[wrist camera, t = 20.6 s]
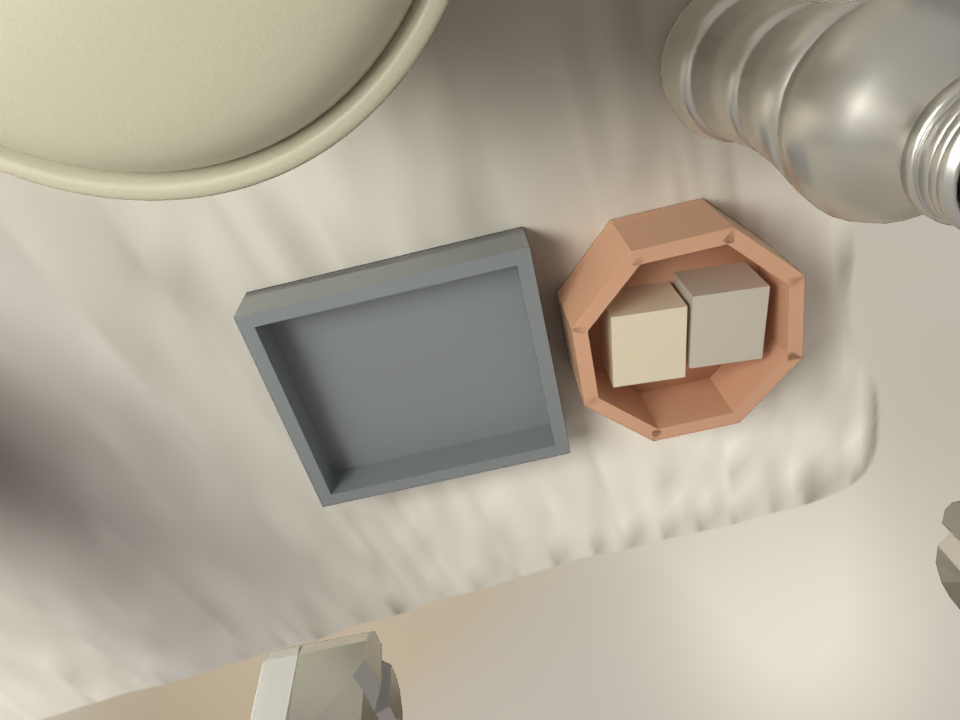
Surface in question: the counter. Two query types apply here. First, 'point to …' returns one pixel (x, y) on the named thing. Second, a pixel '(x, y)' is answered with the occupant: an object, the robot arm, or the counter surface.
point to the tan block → (644, 335)
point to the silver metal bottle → (830, 97)
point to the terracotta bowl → (654, 258)
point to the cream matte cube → (723, 313)
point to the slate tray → (410, 367)
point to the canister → (193, 88)
